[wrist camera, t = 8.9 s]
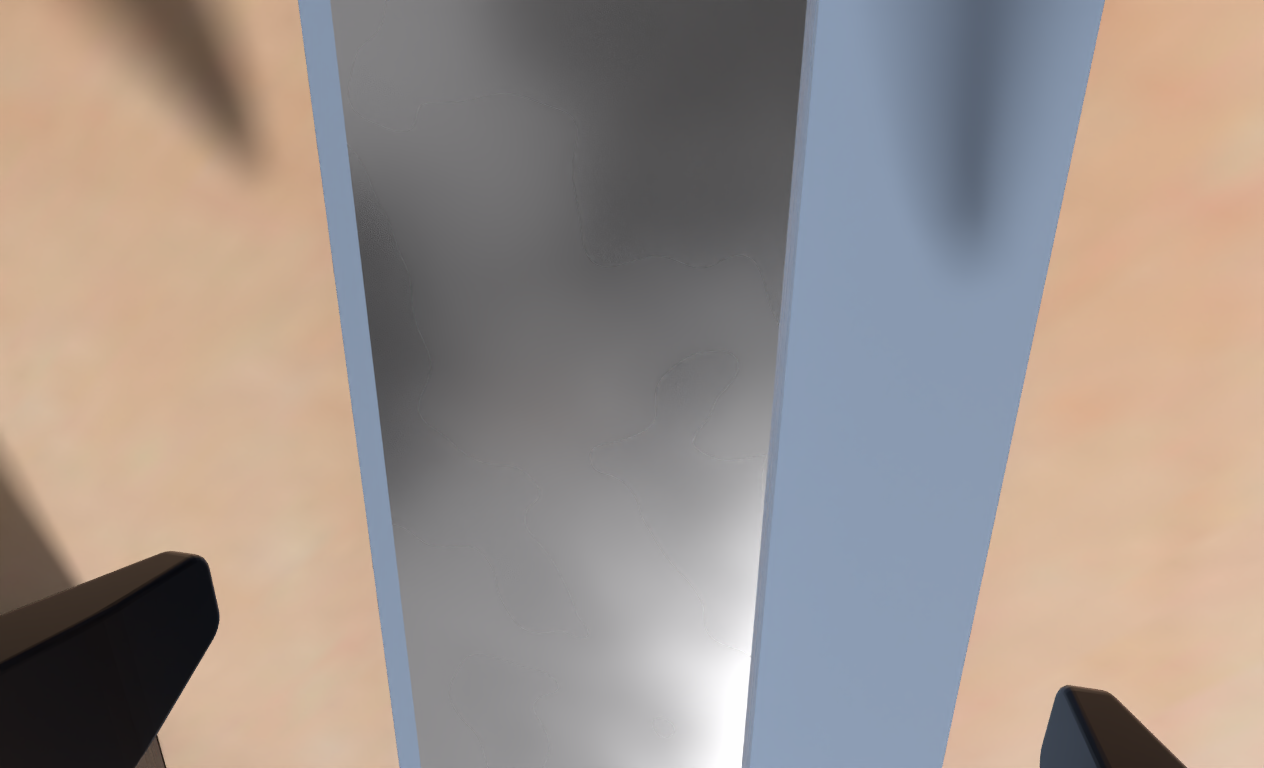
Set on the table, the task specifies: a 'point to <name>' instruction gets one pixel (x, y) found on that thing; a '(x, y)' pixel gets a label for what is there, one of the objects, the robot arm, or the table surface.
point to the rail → (579, 358)
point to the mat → (852, 358)
